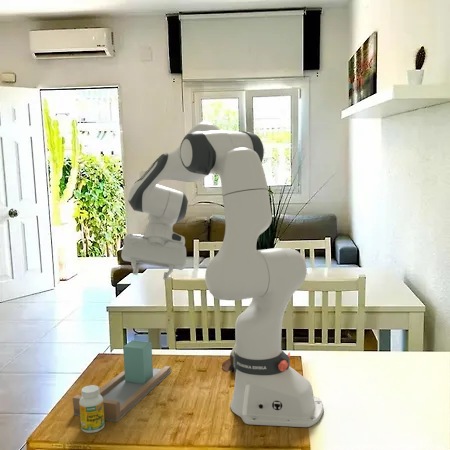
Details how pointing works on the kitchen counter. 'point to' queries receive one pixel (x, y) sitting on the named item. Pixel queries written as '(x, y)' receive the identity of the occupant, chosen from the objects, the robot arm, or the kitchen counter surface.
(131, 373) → the block
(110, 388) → the chute
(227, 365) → the skull
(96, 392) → the supplement bottle
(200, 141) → the robot arm
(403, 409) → the kitchen counter surface
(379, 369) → the kitchen counter surface
